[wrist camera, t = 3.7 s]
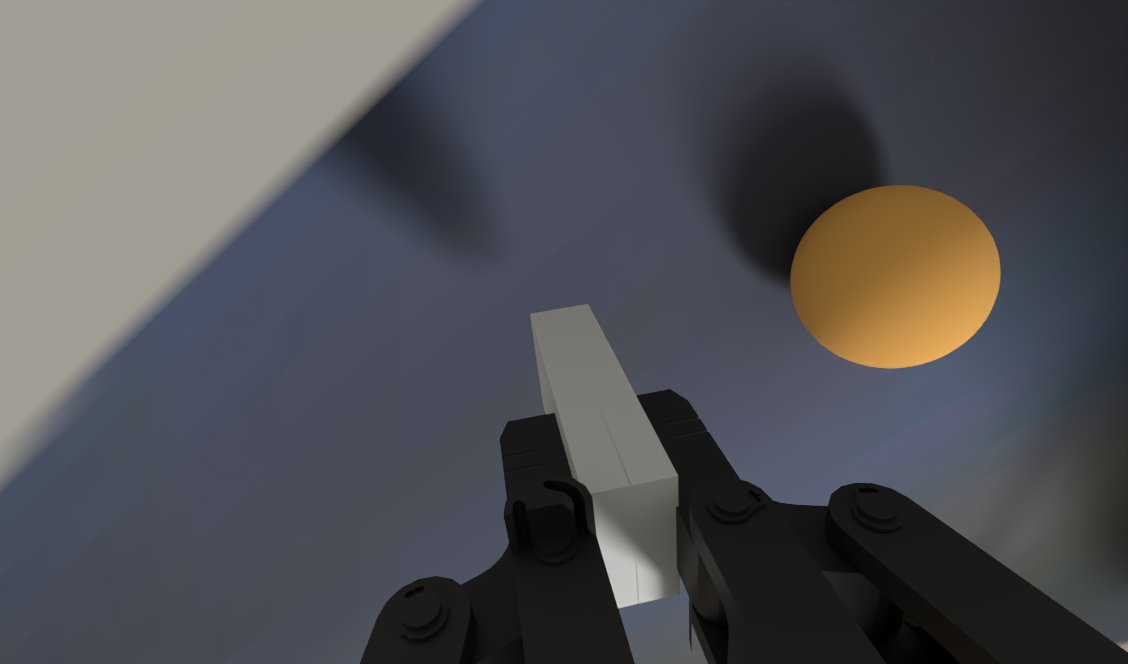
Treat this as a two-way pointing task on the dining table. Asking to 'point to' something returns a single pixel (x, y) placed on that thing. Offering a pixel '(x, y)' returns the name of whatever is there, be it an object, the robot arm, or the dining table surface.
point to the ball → (895, 276)
